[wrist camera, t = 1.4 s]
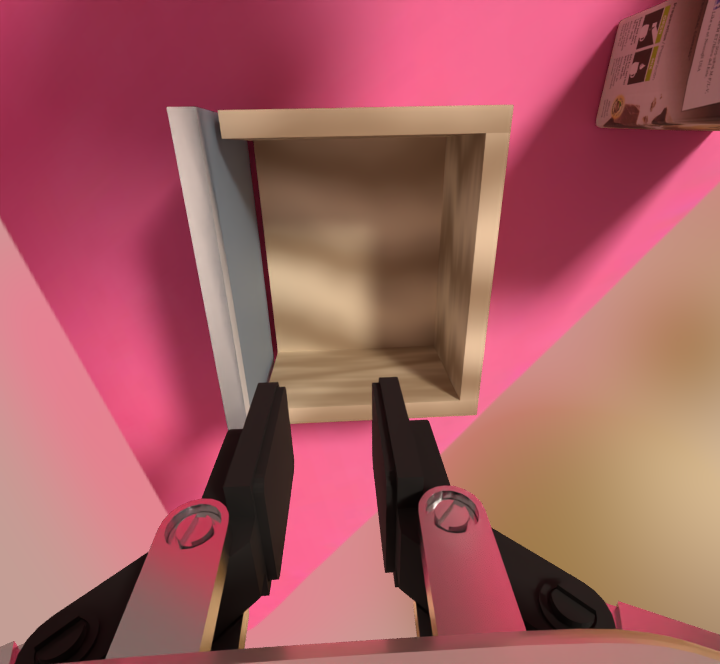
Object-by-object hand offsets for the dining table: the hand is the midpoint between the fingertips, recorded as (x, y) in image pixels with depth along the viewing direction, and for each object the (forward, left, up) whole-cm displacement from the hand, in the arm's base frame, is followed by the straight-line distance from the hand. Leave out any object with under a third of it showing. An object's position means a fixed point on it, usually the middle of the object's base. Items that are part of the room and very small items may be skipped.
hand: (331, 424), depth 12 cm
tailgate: (0, -6, -20) cm, 21 cm away
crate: (0, +2, -21) cm, 21 cm away
